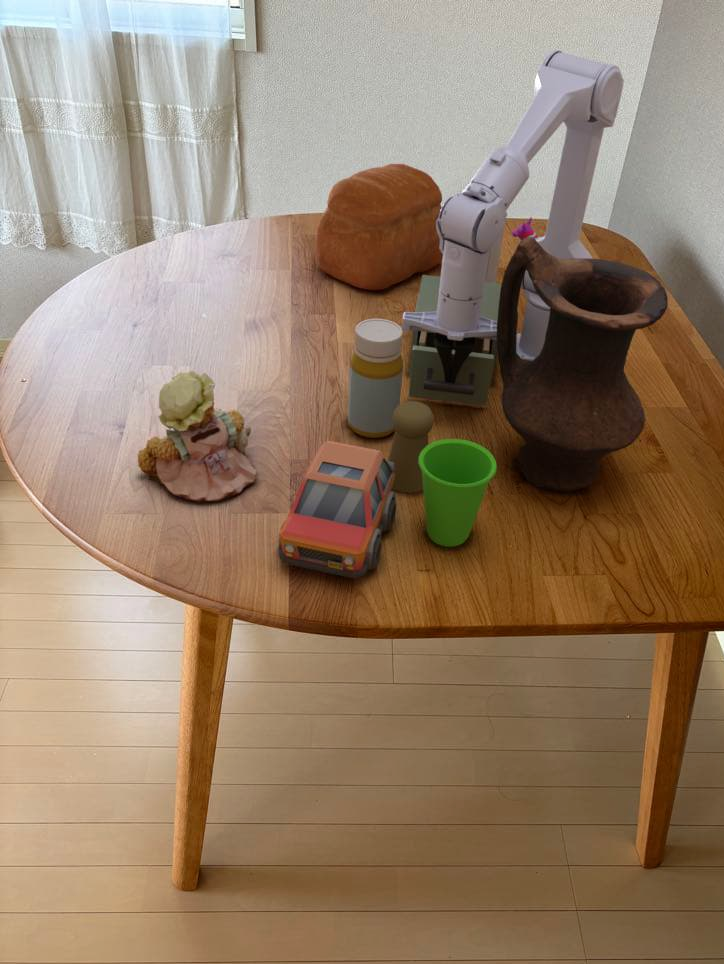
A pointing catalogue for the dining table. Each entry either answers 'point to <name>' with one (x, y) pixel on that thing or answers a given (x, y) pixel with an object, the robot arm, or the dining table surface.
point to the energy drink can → (494, 259)
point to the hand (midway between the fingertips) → (449, 380)
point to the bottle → (375, 377)
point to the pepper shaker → (409, 444)
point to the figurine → (198, 443)
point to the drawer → (470, 377)
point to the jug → (574, 363)
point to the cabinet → (430, 303)
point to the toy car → (340, 512)
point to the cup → (454, 487)
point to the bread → (380, 227)
